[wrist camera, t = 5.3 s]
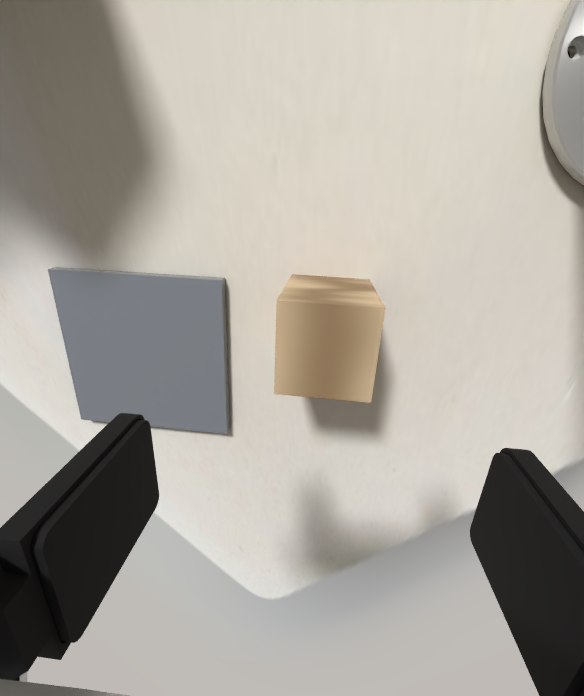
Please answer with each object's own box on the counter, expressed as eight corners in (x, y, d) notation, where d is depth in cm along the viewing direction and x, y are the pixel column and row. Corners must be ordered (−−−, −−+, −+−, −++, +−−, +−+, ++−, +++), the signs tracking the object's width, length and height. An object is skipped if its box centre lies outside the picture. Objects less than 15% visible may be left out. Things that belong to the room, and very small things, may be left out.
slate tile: (224, 278, 23) (221, 280, 22) (229, 427, 27) (226, 433, 27) (56, 267, 24) (47, 269, 23) (88, 414, 28) (81, 419, 28)
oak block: (369, 279, 22) (385, 308, 16) (360, 350, 24) (371, 402, 18) (292, 274, 22) (276, 300, 16) (289, 345, 24) (274, 394, 18)
